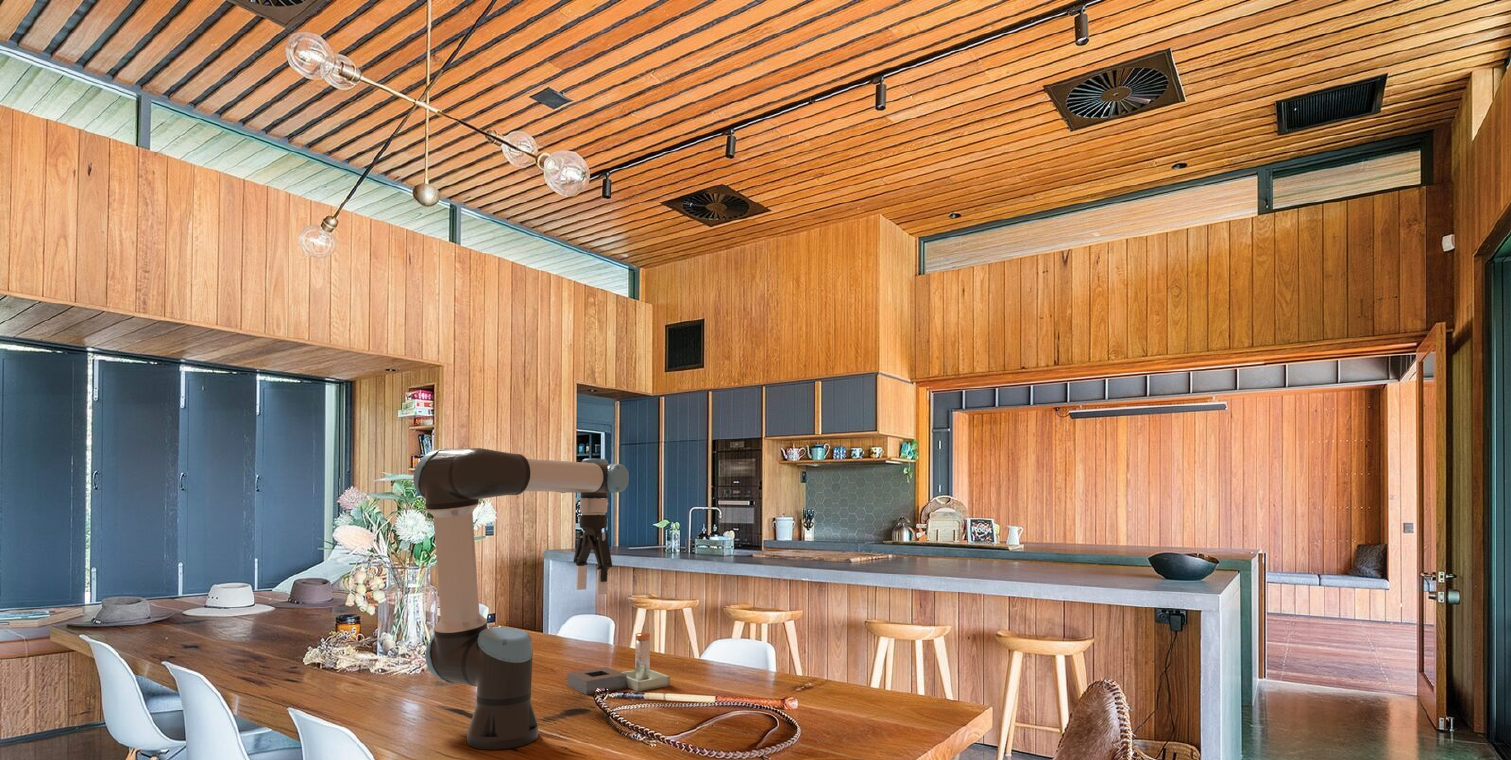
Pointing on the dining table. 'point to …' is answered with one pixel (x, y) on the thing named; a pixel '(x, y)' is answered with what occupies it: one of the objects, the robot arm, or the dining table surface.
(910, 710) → the dining table surface
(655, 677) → the tray
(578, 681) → the block
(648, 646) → the orange capped vial
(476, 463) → the robot arm
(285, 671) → the dining table surface
